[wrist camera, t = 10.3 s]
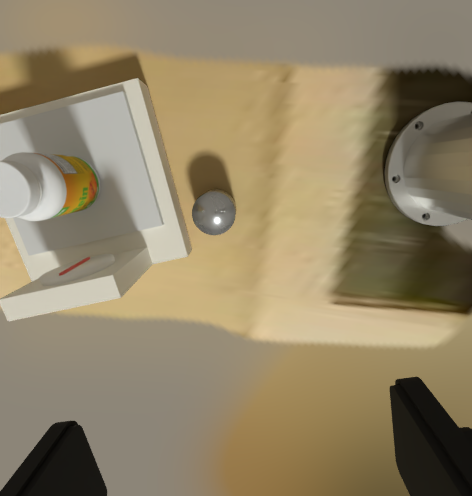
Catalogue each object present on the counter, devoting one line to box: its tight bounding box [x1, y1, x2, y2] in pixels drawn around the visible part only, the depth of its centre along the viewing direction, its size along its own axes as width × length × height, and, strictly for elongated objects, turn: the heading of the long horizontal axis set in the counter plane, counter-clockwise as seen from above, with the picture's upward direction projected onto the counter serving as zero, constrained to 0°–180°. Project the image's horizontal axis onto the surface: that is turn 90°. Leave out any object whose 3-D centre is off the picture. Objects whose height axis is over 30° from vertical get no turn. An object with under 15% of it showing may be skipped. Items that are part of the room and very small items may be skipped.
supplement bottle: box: [0, 152, 100, 221], centre depth 26 cm, size 5×5×10 cm
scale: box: [0, 78, 192, 321], centre depth 29 cm, size 18×18×12 cm
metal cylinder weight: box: [192, 189, 236, 235], centre depth 33 cm, size 4×4×4 cm
